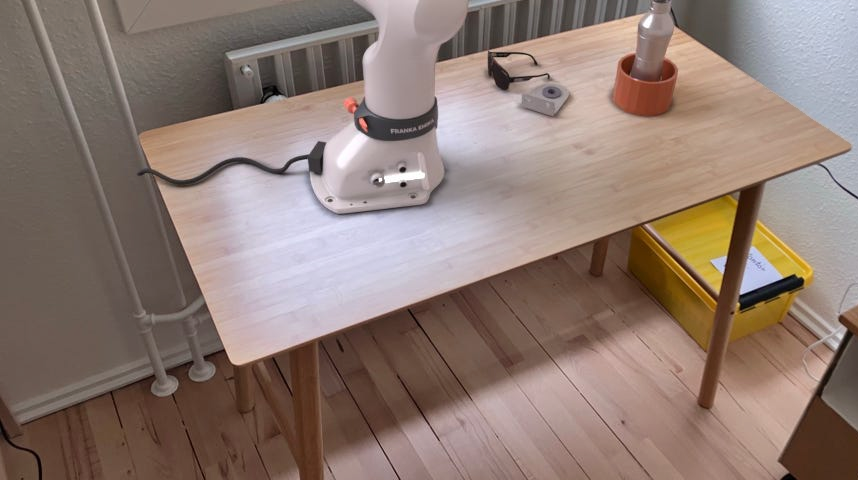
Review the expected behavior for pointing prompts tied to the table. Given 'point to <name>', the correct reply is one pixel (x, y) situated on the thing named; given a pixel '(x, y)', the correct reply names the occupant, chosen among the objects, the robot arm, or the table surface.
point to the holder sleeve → (644, 89)
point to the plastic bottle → (652, 41)
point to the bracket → (546, 98)
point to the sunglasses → (502, 75)
